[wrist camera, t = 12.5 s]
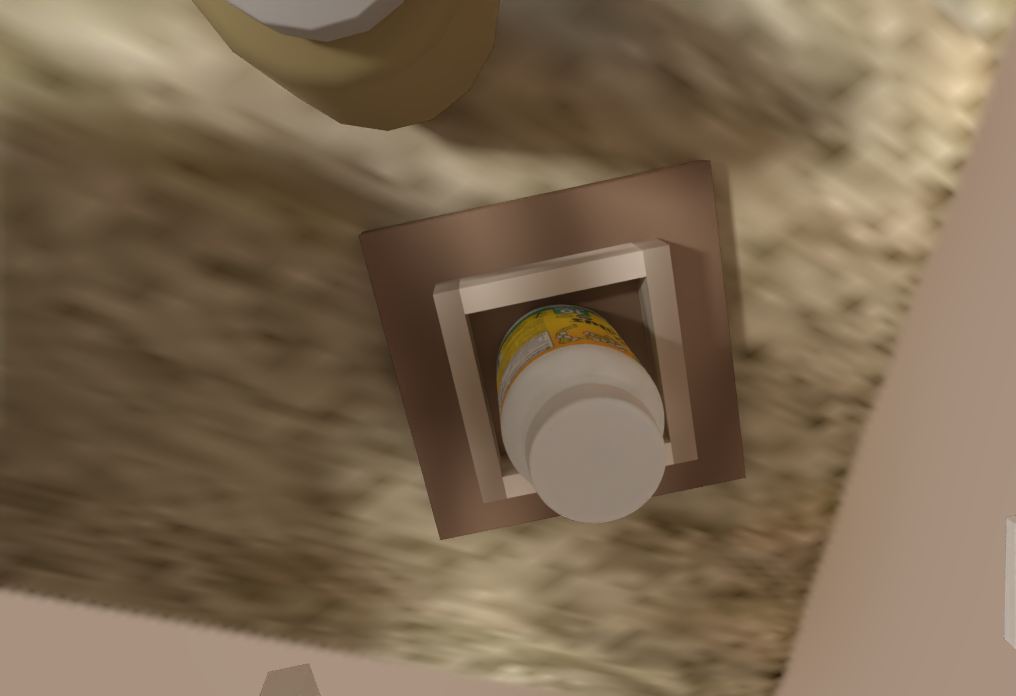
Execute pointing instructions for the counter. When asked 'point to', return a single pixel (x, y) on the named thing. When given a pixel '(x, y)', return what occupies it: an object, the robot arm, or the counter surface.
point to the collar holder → (550, 281)
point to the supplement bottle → (579, 414)
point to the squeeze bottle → (363, 52)
